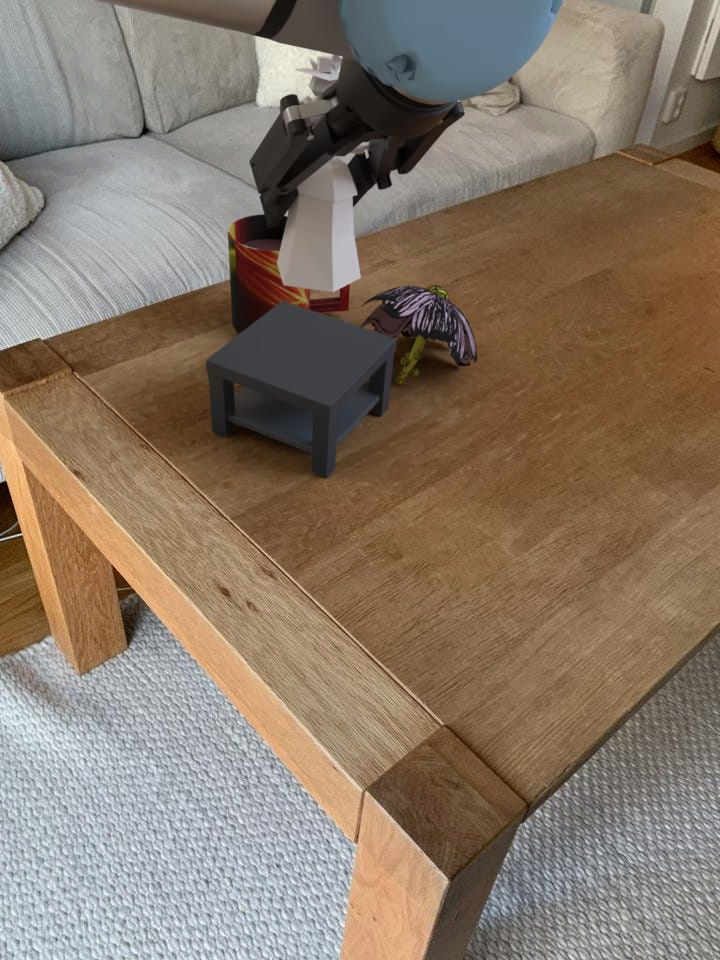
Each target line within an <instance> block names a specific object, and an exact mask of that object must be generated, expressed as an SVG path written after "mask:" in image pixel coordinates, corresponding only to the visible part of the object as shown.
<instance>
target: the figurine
mask: <svg viewBox="0 0 720 960" xmlns="http://www.w3.org/2000/svg"><path fill="white" fill-rule="evenodd" d="M307 58H308V60H309V63H310V65H311V67H312V68H309V67H300V68H296V69H295V71H297V72H300V73H304V74H308V75H311V78H310V81H309V83H308V88H309V89H310V90H311V92H312V93H313V95H314V97H313V98H312V97H310V96H309V95H306V97H304V98H303V99H302V100H301V101H300V102H304V103H305V104H306V103H310V102H315V101H319V100H321V96H322V94H323V92H324V91H325V90H326V89H327V88H328V87H330V86H331V85H333V84H334V83H335V82H336V81H337V80H338V76H339V72H340V67H341V62H342V58H343V57H342V56H337V55H333V54H328V53H325V55H319V56H317V57H316V59H317V60H316V61H314V60H313V59H312V57H310V56H309V55H307ZM369 148H370V144H369V142H367V143H366V144H362V143H361V144H360V145H359V146H357V147H356V148H355V149H354V150H352V151H351V152H350V153H349V154H354V155H355V154H360V153H361V154H363V153H364V152H365V151H366V150H367V149H369ZM347 164H348V163H346V162H345V161H344V160H342V159H341V157H340V156H334V157H333V158H332V159H331V160H330V161H328V162H327V163H326V164H325V165H323V166H322V167H321V168H320V169H318V170H317V171H316V172H315V173H313V174H312V175H311V176H310V177H309V178H307V179H306V180H305V181H304V182H302V183H301V184H300V185H299V186H297V189H298V193H299V195H298V197H297V198H296V199H295V201H294V202H293V204H292V205H291V207H290V208H289V209H288V211H287V217H288V218H287V222H286V227H285V231H284V235H283V239H282V244H281V248H280V252H279V257H278V261H277V265H278V268H279V272H280V275H281V279H282V282H283V285H286V286H293V287H300V288H307V289H310V290H316V291H322V292H330V293H334V292H336V291H339V290H340V288H342V287H344V286H346V285H348V284H350V285H351V284H352V283H354V282H356V281H358V280H360V279H362V275H361V269H360V262H359V257H358V249H357V243H356V237H355V236H356V235H355V226H354V207H353V196H355V195H357V187H356V184H355V182H354V180H353V177H352V175H351V173H350V170H349V168H348V166H347Z"/></svg>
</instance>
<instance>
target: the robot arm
mask: <svg viewBox="0 0 720 960" xmlns="http://www.w3.org/2000/svg"><path fill="white" fill-rule="evenodd" d="M94 1H96V2H99V3H105V4H109V5H114V6H118V7H121V8H128V9H131V10H136V11H142V12H144V13H145V12H147V13H151V14H155V15H160V16H165V17H169V18H174V19H178V20H184V21H188V22H193V23H196V24H202V25H206V26H210V27H216V28H219V29H220V28H221V29H225V30H230V31H234V32H237V33H238V32H239V33H244V34H247V35H249V36H255V37H259V38H262V39H267V40H269V41H272V42H276V43H277V44H278V43H279V44H282V45H286V46H292V47H296V48H302V49H307V50H310V51H315V52H320V53H325V54H326V53H327V55H337V56H342V62H341V66H340V68H339V76H338V80H337V81H336V82H335V83H334V84H333V85H331V86H330V87H328V88H327V89H326V90H325V91H324V92H323V94H322V96H321V100H319V101H315V102H310V103H306V104H305V103H304V102H301V101H300V100H299V96H298V95H297V94H295V93H290V94H286V95H284V96H282V98H281V99H280V101H279V114H278V116H277V117H276V119H275V120H274V122H273V123H272V125H271V126H270V128H269V130H268V131H267V133H266V135H265V136H264V137H263V139H262V140H261V142H260V143H259V145H258V146H257V149H256V150H255V152H254V153H253V155H252V156H251V158H250V159H249V165H250V169H251V173H252V176H253V179H254V183H255V186H256V190H257V193H258V194H260V195H259V200H260V204H261V207H262V211H263V214H265V218H266V221H267V225H268V228H270V227H276V226H277V225H278V224H279V222H280V221H281V219H282V218H283V217H284V216H286V214H287V213H288V209H289V208H290V207H291V205H292V204H293V202H294V201H295V199H296V198H297V197H298V195H299V193H298V189H297V186H299V185H300V184H301V183H302V182H304V181H305V180H306V179H307V178H309V177H310V176H311V175H312V174H313V173H315V172H316V171H317V170H318V169H320V168H321V167H322V166H323V165H325V164H326V163H327V162H328V161H330V160H331V159H332V158H333V157H334V156H338V157H346V156H347V155H348V154H351V153H350V152H351V151H352V150H354V149H355V148H356V147H357V146H359V145H360V144H361V145H362V143H369V144H370V148H369V149H366V150H367V151H366V152H367V155H368V156H367V155H366V152H365V151H364V153H363V154H361V153H360V154H354V155H353V157H352V158H351V159H350V160H349V162H348V163H346V164H347V166H348V168H349V170H350V173H351V175H352V177H353V180H354V182H355V184H356V187H357V195H355V196H353V208H354V207H356V205H357V204H358V203H359V202H360V201H361V199H362V198H363V197H364V196H365V195H366V194H367V192H368V191H370V190H371V189H373V188H374V186H375V185H376V186H377V189H378V190H379V191H382V190H386V189H389V188H391V187H392V186H393V181H392V179H391V173H392V172H393V171H397V174H398V175H407V174H409V173H410V172H412V171H413V169H414V168H415V167H416V166H417V164H418V163H419V162H420V161H422V159H423V158H424V156H425V155H426V154H427V153H428V151H429V150H430V149H431V148H432V147H433V145H434V144H435V143H436V142H437V141H438V139H439V138H440V137H441V136H442V135H443V133H444V132H446V130H447V129H448V128H449V127H451V126H453V125H454V124H455V123H457V121H459V120H460V119H462V118H463V117H464V116H465V115H466V113H465V109H464V106H463V101H465V100H469V99H472V98H477V97H479V96H482V95H484V94H486V93H488V92H490V91H492V90H494V89H496V88H498V87H499V86H501V85H502V84H504V83H506V82H508V80H510V79H511V78H512V77H513V76H515V75H516V74H517V73H518V72H519V71H521V69H522V68H524V66H525V65H526V64H527V63H528V62H529V61H530V60H531V59H532V57H533V56H534V55H535V54H536V53H537V51H538V50H539V49H540V47H542V44H543V43H544V42H545V40H546V38H547V37H548V35H549V33H550V32H551V30H552V28H553V25H554V24H555V22H556V20H557V17H558V14H559V11H560V9H561V7H562V6H563V3H564V0H94Z"/></svg>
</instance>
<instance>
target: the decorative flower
mask: <svg viewBox="0 0 720 960" xmlns="http://www.w3.org/2000/svg"><path fill="white" fill-rule="evenodd" d="M449 296H450V295H449V293H448V291H447V289H446V288H444V287H442V286H441V285H437V284H433V285H429V286H427V287H421V286H417V285H416V286H415V285H403V286H397V287H392V288H390V289H387V290H384V291H382V292H380V293H377V294H375V295H374V296H372V297H371V298H369V299H367V300H366V301H365V302H364V303H363V304H361V306H359V308H361V307H363V306H365V305H366V304H368V303H371V302H373V301H381V304H379V305H378V306H377V307H375V309H374V310H372V311H371V312H370V313H369V315H368V316H367V317H366V318H364V320H363V322H362V323H361V325H360V326H359V327H362V328H366V326H367V325H369V324H371V326H372V327H373V328H374V332H377V333H380V334H383V335H386V336H389V337H392V338H395V339H396V338H397V337H398V336H399V335H401V336H402V337H403V338H404V339H406V338H407V339H408V338H416V339H415V341H414V344H413V345H412V347H411V351H407V352H405V354H404V355H403V357H401V358H400V360H399V363H400V366H402V367H403V368H402V370H401V371H400V372H399V373H398V375H397V377H396V378H395V380H394V382H395V384H396V386H399V387H400V386H403V385H404V384H405V381H406V380H407V379H408V374H409V373H410V374H411V375H410V376H411V377H413V378H418V377H419V376H420V374H421V370H420V369H419V368H418V367H414V366H415V365H416V364H417V362H418V361H420V360H422V359H423V358H424V357H423V356H424V353H423V350H424V348H425V346H426V344H427V341H428V340H431V341H433V342H436V340H437V341H439V342H442V343H443V342H444V343H446V344H447V346H448V348H449V352H450V354H449V355H450V356H451V358H452V359H453V360H454V363H455V364H456V366H458V367H459V368H460V367H469V366H471V360H473V364H476V363H477V362H478V349H477V344H476V338H475V335H474V332H473V329H472V327H471V325H470V322H469V320H468V319H467V316H465V314H464V313H463V311H462V310H461V309H460V308H459V307H458V306H457V305H456V304H454V303H453V302H451V301H450V300H449V299H450V298H449Z"/></svg>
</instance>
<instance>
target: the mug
mask: <svg viewBox="0 0 720 960" xmlns="http://www.w3.org/2000/svg"><path fill="white" fill-rule="evenodd" d="M287 218H288V215H284V217H283V218H282V219H281V221H280V222H279V224H278V225H277V226H276V227H270V228H268V225H267V221H266V218H265V214H264V213H261V214H254V215H249V216H245V217H242V218H239V219H236V220H235V221H234V222H232V223H231V224H230V225H229V226H228V229H227V243H228V244H227V245H228V263H229V264H228V266H229V268H228V269H229V284H230V286H229V287H230V307H231V309H230V310H231V325H232V328H233V329H234V331H235V332H236V333H237V334H238V335H239V334H240V333H241V332H243V331H244V330H245V329H247V328H248V327H249V326H250V325H252V324H253V323H254V322H256V321H257V320H258V319H260V318H261V317H262V316H263V315H265V314H266V313H267V312H269V311H270V310H271V309H272V308H274V307H275V306H276V305H278V304H279V303H280V302H282V301H284V302H287V303H290V304H293V305H296V306H299V307H302V308H305V309H308V310H311V311H314V312H317V313H320V314H324V313H335V312H349V309H350V292H351V291H350V290H351V283H350V284H348V285H346V286H344V287H342V288H340V289H339V296H335V297H324V298H323V297H322V298H311V297H310V296H311V289H307V288H300V287H293V286H286V285H283V282H282V279H281V275H280V272H279V268H278V265H277V261H278V257H279V252H280V248H281V244H282V239H283V235H284V231H285V227H286V222H287Z"/></svg>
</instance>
